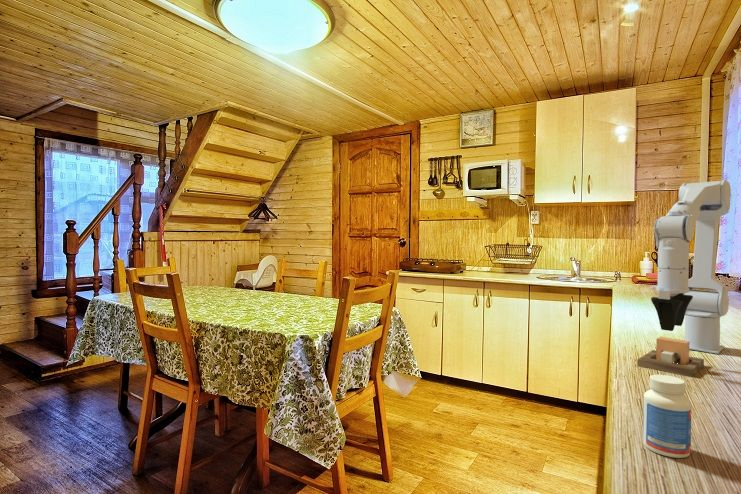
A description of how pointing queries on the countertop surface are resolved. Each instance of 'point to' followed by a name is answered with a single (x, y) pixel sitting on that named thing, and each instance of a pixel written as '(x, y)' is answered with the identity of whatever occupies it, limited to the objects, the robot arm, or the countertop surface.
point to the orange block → (673, 348)
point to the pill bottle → (667, 417)
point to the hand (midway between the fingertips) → (671, 327)
